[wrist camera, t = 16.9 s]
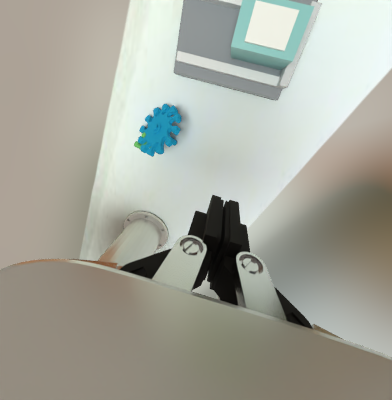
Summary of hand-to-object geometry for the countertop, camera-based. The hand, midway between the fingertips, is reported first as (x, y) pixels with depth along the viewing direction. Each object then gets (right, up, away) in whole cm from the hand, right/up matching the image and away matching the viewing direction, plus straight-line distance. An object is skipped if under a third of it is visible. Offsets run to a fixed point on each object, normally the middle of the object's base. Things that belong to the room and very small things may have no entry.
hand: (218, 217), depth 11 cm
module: (+8, +24, +15) cm, 30 cm away
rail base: (+5, +26, +16) cm, 31 cm away
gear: (-8, +16, +25) cm, 30 cm away
